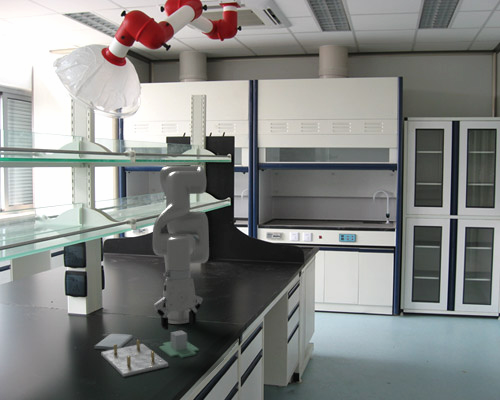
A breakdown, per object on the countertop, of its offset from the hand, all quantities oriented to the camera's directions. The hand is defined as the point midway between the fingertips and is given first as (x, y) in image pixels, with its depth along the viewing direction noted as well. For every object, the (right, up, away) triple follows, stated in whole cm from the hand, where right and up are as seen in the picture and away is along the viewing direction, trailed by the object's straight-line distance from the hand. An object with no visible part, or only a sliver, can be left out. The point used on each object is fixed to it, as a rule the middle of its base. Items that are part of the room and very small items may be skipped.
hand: (178, 326), depth 171 cm
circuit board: (0, -8, +1) cm, 8 cm away
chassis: (-13, -9, -8) cm, 18 cm away
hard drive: (-23, -8, +7) cm, 26 cm away
